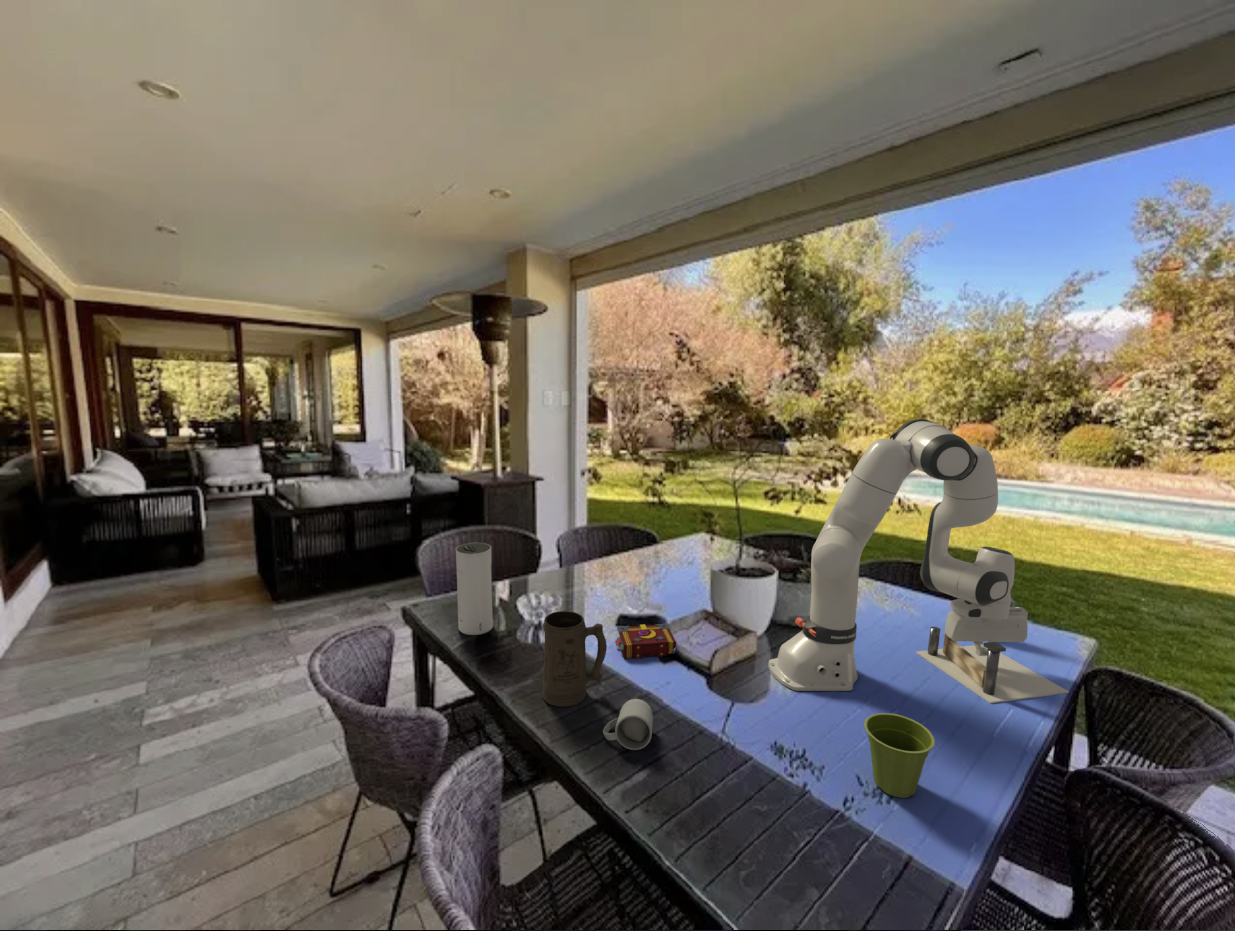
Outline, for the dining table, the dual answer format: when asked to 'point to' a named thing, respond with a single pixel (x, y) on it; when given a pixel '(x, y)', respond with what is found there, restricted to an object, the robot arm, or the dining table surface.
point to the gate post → (992, 666)
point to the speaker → (474, 588)
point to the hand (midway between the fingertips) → (982, 655)
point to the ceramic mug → (632, 725)
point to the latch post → (933, 641)
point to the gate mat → (998, 678)
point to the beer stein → (569, 658)
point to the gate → (964, 660)
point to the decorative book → (645, 641)
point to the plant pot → (897, 752)
